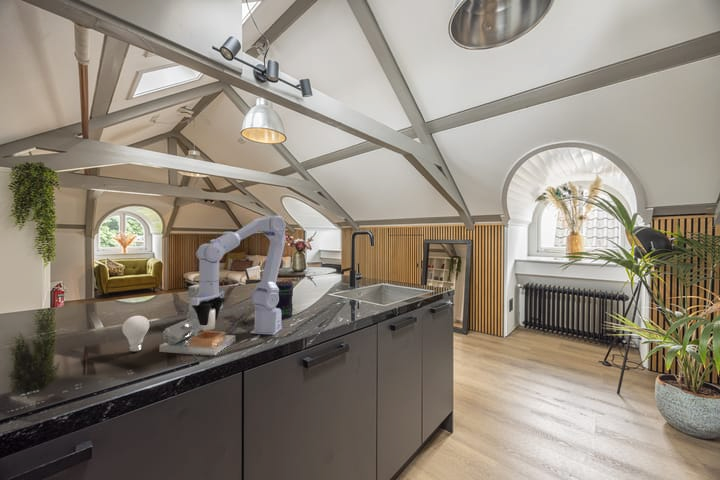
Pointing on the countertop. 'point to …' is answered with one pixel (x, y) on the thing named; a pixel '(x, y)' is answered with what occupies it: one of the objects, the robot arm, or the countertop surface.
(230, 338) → the white rectangular base assembly
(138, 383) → the countertop surface
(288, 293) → the storage jar
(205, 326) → the white bottle
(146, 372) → the countertop surface
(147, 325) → the light bulb
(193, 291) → the circuit breaker
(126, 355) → the countertop surface
